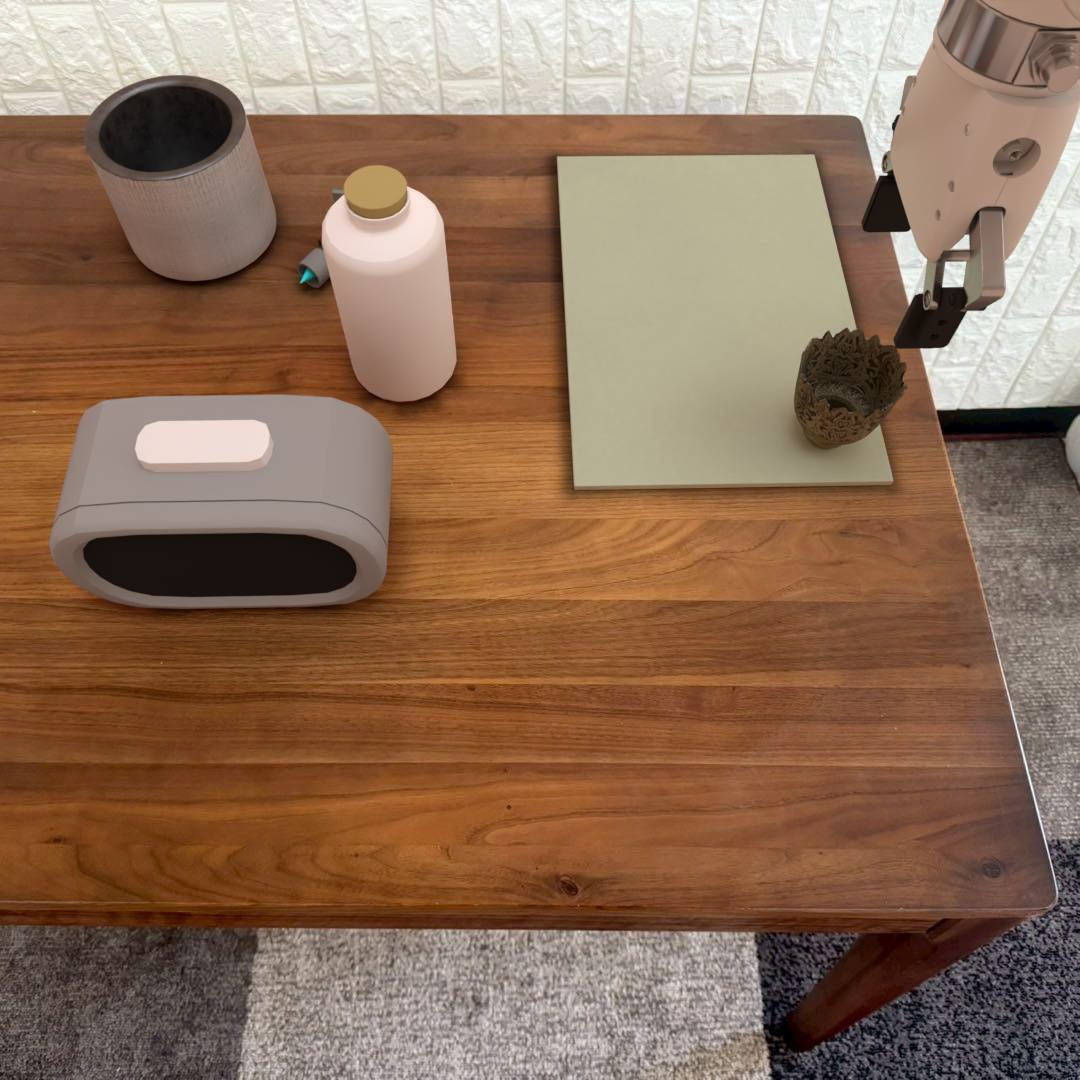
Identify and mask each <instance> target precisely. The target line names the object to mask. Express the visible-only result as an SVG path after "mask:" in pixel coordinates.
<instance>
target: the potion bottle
mask: <svg viewBox="0 0 1080 1080" xmlns="http://www.w3.org/2000/svg"><path fill="white" fill-rule="evenodd" d="M343 190H344V195H343V196H341V197H340V198H339V199H338V200H337V201H336V202H335V203H334V202H333V204H332V205H331V206H330V207H329V209H328V210H327V212H326V215H325V217H324V218H323V221H322V223H321V236H322V246H323V250H324V254H325V258H326V262H327V266H328V270H329V274H330V277H329V279H330V282H331V287H332V291H333V294H334V298H335V302H336V303H335V304H336V306H337V310H338V314H339V318H340V323H341V327H342V331H343V334H344V338H345V342H346V347H347V350H348V355H349V358H350V362H351V366H352V370H353V372H354V373H355V377H356V379H357V381H358V382H359V384H360V385H362V387H363V388H365V390H366V391H367V392H369V393H371V394H373V395H374V396H377V397H379V398H380V399H382V400H387V401H392V402H397V403H398V402H399V403H400V402H401V403H402V402H403V403H404V402H415V401H418V400H421V399H424V398H427V397H430V396H431V395H433V394H434V393H436V392H438V391H439V390H440V389H442V388H443V387H444V386H445V385H446V384H447V382H448V381H449V380H450V379H451V377H452V376H453V373H454V370H455V368H456V365H457V345H456V335H455V325H454V315H453V305H452V293H451V285H450V275H449V273H450V272H449V265H448V253H447V245H446V243H447V242H446V233H445V224H444V223H445V222H444V219H443V217H442V216H441V214H440V212H439V210H438V207H437V206H436V203H434V202H432V201H431V199H429V198H428V197H427V196H426V195H425V194H423V193H422V192H420V191H418V190H417V189H414V188H412V187H410V186H408V181H407V180H406V177H405V175H403V173H401V172H400V171H399V170H398V169H396V168H394V167H391V166H387V165H383V164H375V165H367V166H363V167H360V168H358V169H356V170H354V171H353V172H351V174H350V175H349V176H347V178H346V179H345V182H344V183H343Z"/></svg>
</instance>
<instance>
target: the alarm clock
mask: <svg viewBox="0 0 1080 1080" xmlns="http://www.w3.org/2000/svg"><path fill="white" fill-rule="evenodd" d="M75 433H76V434H75V437H74V440H73V441H74V442H73V444H72V447H71V448H72V449H71V453H70V457H69V461H68V463H67V464H68V465H67V468H66V472H65V476H64V480H63V484H62V487H61V492H60V496H59V501H58V504H57V508H56V512H55V517H54V520H53V524H52V525H53V526H52V528H51V532H50V536H49V540H48V546H49V552H50V555H51V556H50V557H51V560H52V561H53V563H54V564H55V565H56V567H57V568H58V570H59V571H60V572H61V573H62V574H63V575H64V576H65V577H66V578H67V579H69V580H70V581H71V582H72V583H73V584H74V585H75V586H78V587H79V588H81V589H83V590H84V591H86V592H87V593H90V594H91V595H93V596H96V597H98V598H100V599H104V600H107V601H109V602H112V603H115V604H121V605H126V606H130V607H134V608H149V609H172V610H173V609H176V610H196V609H199V610H201V609H203V610H204V609H246V608H247V609H249V608H250V609H255V608H260V609H261V608H306V607H320V606H334V605H348V604H350V603H353V602H357V601H360V600H363V599H365V598H366V599H367V598H368V597H369V596H371V595H372V594H373V593H375V592H376V591H377V590H378V589H380V588H381V586H382V585H383V582H384V580H385V578H386V575H387V571H388V553H389V537H390V519H391V502H392V483H393V466H394V448H393V444H392V441H391V438H390V436H389V433H388V431H387V430H386V428H385V427H384V426H383V425H382V423H380V421H379V420H378V418H377V417H375V416H374V415H372V414H371V413H369V412H368V411H367V410H365V409H363V408H362V407H361V406H358V405H355V404H352V403H349V402H347V401H344V400H341V399H338V398H335V397H332V396H315V395H297V394H225V395H224V394H221V395H219V394H215V395H150V396H149V395H148V396H137V397H136V396H135V397H126V398H125V397H124V398H116V399H114V398H113V399H103V400H102V401H99V402H98V403H96V404H95V405H93V406H91V407H89V408H87V409H85V411H84V413H83V415H81V418H80V420H79V421H78V424H77V429H76V432H75Z"/></svg>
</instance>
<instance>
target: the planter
mask: <svg viewBox="0 0 1080 1080" xmlns="http://www.w3.org/2000/svg"><path fill="white" fill-rule="evenodd" d="M247 116H248V115H247V113H246V109H245V108H244V105H243V103H242V101H241V99H239V97H238V96H237V94H235V92H233V91H232V90H231V89H229V87H227V86H225V85H223V84H222V83H220V82H217V81H215V80H212V79H209V78H205V77H201V76H196V75H187V74H186V75H185V74H170V75H169V74H168V75H161V76H155V77H150V78H146V79H143V80H138V81H136V82H133V83H130V84H129V85H126V86H124V87H122V88H120V89H118V90H117V91H115V92H113V93H112V94H110V95H109V96H108V97H106V98H105V99H104V100H103V101H101V102H100V103H99V104H98V105H97V107H96V108H95V109H94V110H93V112H92V113H91V114H90V116H89V117H88V120H87V122H86V124H85V127H84V131H83V141H84V142H83V143H84V146H85V150H86V152H87V155H88V156H89V159H90V161H91V163H92V165H93V167H94V169H95V171H96V173H97V175H98V178H99V180H100V182H101V184H102V186H103V188H104V191H105V193H106V194H107V197H108V199H109V201H110V204H111V206H112V208H113V211H114V213H115V215H116V217H117V219H118V222H119V224H120V226H121V228H122V230H123V233H124V234H125V237H126V239H127V242H128V244H129V245H130V248H131V249H132V251H133V252H134V254H135V255H136V257H137V259H139V261H140V262H141V263H142V264H143V265H144V266H145V267H146V268H147V269H149V270H151V271H152V272H154V273H155V274H158V275H159V276H163V277H165V278H170V279H173V280H177V281H186V282H197V281H198V282H199V281H209V280H215V279H219V278H222V277H227V276H229V275H231V274H234V273H236V272H237V273H238V271H240V270H242V269H244V268H246V267H247V266H250V264H252V263H254V262H255V261H256V260H257V259H258V258H260V256H261V255H263V254H264V252H265V251H266V250H267V249H268V248H269V246H270V245H271V243H272V241H273V238H274V237H275V235H276V232H277V231H276V230H277V212H276V211H277V210H276V207H275V204H274V200H273V197H272V193H271V190H270V187H269V184H268V181H267V178H266V175H265V172H264V168H263V166H262V162H261V159H260V156H259V152H258V149H257V147H256V143H255V140H254V136H253V133H252V129H251V127H250V122H249V119H248V117H247Z"/></svg>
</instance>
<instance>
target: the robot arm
mask: <svg viewBox="0 0 1080 1080" xmlns="http://www.w3.org/2000/svg"><path fill="white" fill-rule="evenodd" d="M902 90H903V91H902V95H901V101H900V106H899V111H900V113H899V114H897V115H895V118H894V119H893V121H892V123H891V130H892V137H891V138H892V139H891V142H890V147H889V148H890V149H889V150H888V151H886V152H884V154H883V156H882V158H881V172H882V173H883V174H886V175H878V178H877V180H876V183H875V186H874V188H873V191H872V193H871V196H870V198H869V201H868V204H867V206H866V209H865V211H864V214H863V217H862V219H861V227H862V230H863V232H866V233H907V232H909V231H911V233H912V236H913V239H914V243H915V244H916V247H917V249H918V251H919V252H920V253H921V255H922V256H923V257H924V258H925V259H926V267H925V273H924V274H925V275H924V283H923V290H922V291H923V292H922V293H921V292H920V293H917V294H914V296H913V297H912V300H911V302H910V304H909V306H908V308H907V310H906V312H905V314H904V316H903V318H902V320H901V322H900V324H899V325H898V327H897V331H896V332H895V333H894V336H893V343H894V344H893V345H894V346H895V347H896V348H897V350H899V349H900V350H906V349H909V350H911V349H915V350H916V349H925V350H926V349H943V348H946V347H947V346H948V345H949V344H950V343H951V341H952V339H953V337H954V335H955V334H956V332H957V330H958V329H959V327H960V325H961V323H962V322H963V320H964V318H965V316H966V314H967V313H968V312H983V311H985V310H987V308H988V307H990V306H991V305H993V304H994V303H997V302H998V301H999V300H1001V299H1003V298H1004V296H1005V293H1006V291H1007V289H1006V288H1007V284H1006V281H1007V280H1006V262H1007V260H1009V258H1010V257H1011V256H1012V254H1013V253H1014V251H1015V250H1016V248H1017V247H1018V245H1019V243H1020V241H1021V239H1022V238H1023V236H1024V234H1025V232H1026V230H1027V228H1028V226H1029V225H1030V224H1031V221H1032V218H1033V217H1034V215H1035V213H1036V211H1037V209H1038V207H1039V205H1040V203H1041V201H1042V200H1043V198H1044V195H1045V193H1046V191H1047V190H1048V187H1049V185H1050V183H1051V180H1052V178H1053V177H1054V175H1055V172H1056V170H1057V167H1058V166H1059V163H1060V161H1061V159H1062V156H1063V153H1064V151H1065V149H1066V146H1067V144H1068V141H1069V138H1070V136H1071V134H1072V131H1073V128H1074V125H1075V122H1076V119H1077V116H1078V113H1079V109H1080V0H944V2H943V5H942V7H941V10H940V13H939V16H938V18H937V20H936V23H935V26H934V29H933V32H932V41H931V43H930V45H929V46H928V48H927V51H926V53H925V55H924V57H923V59H922V62H921V64H920V66H919V68H918V71H917V73H916V75H907V77H906V78H905V80H904V84H903V89H902ZM965 236H968V247H969V248H954V247H955V246H956V245H957V244H958V243H959V242H960V241H961V240H962V239H964V237H965ZM953 262H954V263H956V262H957V263H959V262H960V263H961V262H965V270H964V277H963V283H962V286H943V284H944V275H945V269H946V263H953Z"/></svg>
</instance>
